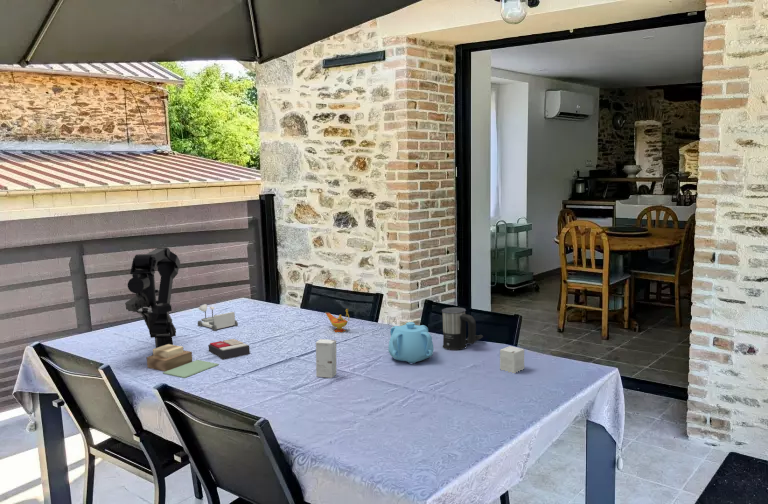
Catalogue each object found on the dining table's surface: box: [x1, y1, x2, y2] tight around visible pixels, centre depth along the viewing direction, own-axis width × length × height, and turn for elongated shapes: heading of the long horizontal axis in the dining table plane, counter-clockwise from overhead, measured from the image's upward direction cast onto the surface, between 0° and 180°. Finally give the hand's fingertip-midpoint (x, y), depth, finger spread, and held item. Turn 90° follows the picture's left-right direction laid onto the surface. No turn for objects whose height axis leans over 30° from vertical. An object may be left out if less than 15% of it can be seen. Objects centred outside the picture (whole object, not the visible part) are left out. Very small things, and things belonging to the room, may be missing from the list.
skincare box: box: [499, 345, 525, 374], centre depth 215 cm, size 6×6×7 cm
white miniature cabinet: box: [315, 338, 337, 379], centre depth 213 cm, size 6×4×12 cm
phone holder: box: [197, 303, 239, 332], centre depth 287 cm, size 18×10×12 cm
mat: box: [162, 359, 220, 379], centre depth 225 cm, size 11×16×1 cm
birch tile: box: [152, 344, 184, 358], centre depth 230 cm, size 8×7×2 cm
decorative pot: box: [388, 321, 434, 364], centre depth 230 cm, size 16×16×14 cm
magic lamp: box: [324, 308, 350, 333], centre depth 273 cm, size 7×18×11 cm, turn 40°
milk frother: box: [441, 307, 484, 351], centre depth 245 cm, size 14×16×15 cm
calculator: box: [207, 338, 251, 360], centre depth 244 cm, size 11×4×15 cm
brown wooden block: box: [146, 349, 193, 372], centre depth 230 cm, size 10×12×4 cm
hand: (150, 329), depth 234 cm, fingers closed
